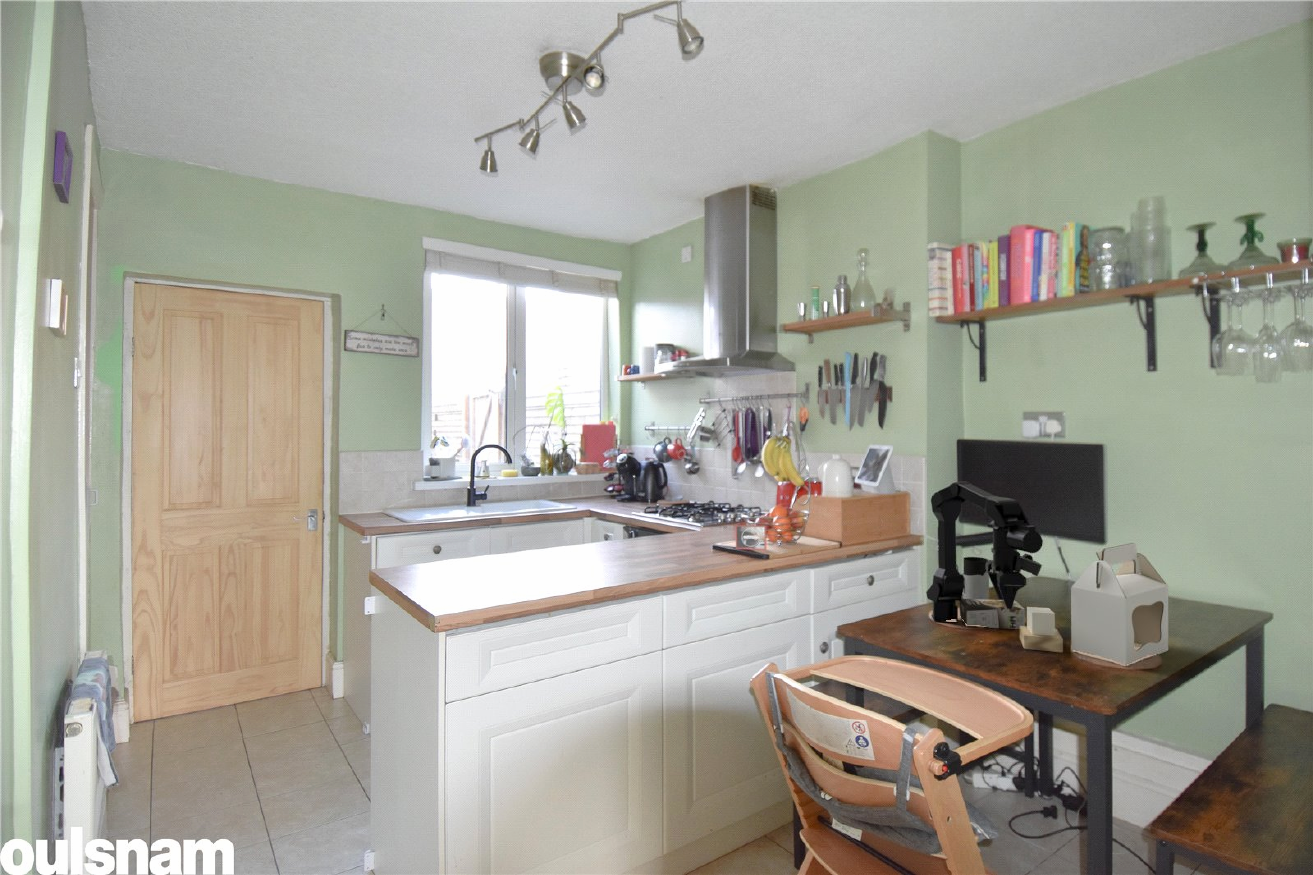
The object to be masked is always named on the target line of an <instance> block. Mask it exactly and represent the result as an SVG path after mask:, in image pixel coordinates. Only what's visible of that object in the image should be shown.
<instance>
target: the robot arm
mask: <svg viewBox="0 0 1313 875" xmlns="http://www.w3.org/2000/svg"><path fill="white" fill-rule="evenodd" d="M966 502H969V503H971V504H973V505H974V506H977V507H979V508H981V510H984V514H985V516H987V517H988V518H989V519H991V520H992V521H990V522H989V523H988V524H987V527H988V528H991V529H992V547H991V548H990V550H991V551H990V552H991V553H992V559H988V561H987V562H986V570H987V571H988V572H987V573H988V575H989V581H990V582H991V585H992V587H993V588H994V592H995V593H996V595H997V598H998V600H1004V602H1005V605H1006V607H1007V609H1012V606H1013V603H1014V601H1015V599H1016V596H1017V593H1018V591H1019V590H1021V589H1023V588H1025V586H1027V576H1025V575H1024V574H1023V573H1021V571H1024V572H1027V573H1030V574H1032V575H1033V576H1036V577H1038V576H1039V575H1040V571H1041V569H1042V567H1043V565H1042V564H1041V563H1040V562H1038V561H1036V560H1034V558H1033V555H1031V554H1035V553H1038V552H1039V551H1040V550H1041V548H1042V547H1043V544H1044V540H1043V538H1042V536H1041V533H1039V532H1038V531H1037V530H1036V529H1037V528H1036V526H1034V525H1031V524H1030V522H1029V519H1028V517H1027V516H1026V514H1025V512H1024V510H1023V508H1022V506H1021V505H1020V504H1021V503H1020V502H1019V501H1018V500H1017V499H1014V498H1010V497H1003V496H996V495H994V494H992V493H990V492H988V491H985V490H983V489H981V488H979V487H978V486H976V485H973V483H971V482H969V481H955V482H952V483H951V484H950V485H949V486H947V487H943V488H942V489H939V490H938V491H936V492H934V494H933V495H932V496H931V498H930V503H931V510H932V513H933V515H934V517H936V519H937V530H938V531H937V534H938V535H937V536H938V540H937V541H938V567H937V569H936V571H935V572H934V574H933V578H932V584H931V586H930V587H929V588H928V589H927V591H926V597H927V600H930V601H932V614H931V618H932V620H933V621H934V622H937V623H939V622H940V623H942V622H941V621H946V620H951V619H957V620H958V619H959V618H958V616H959V613H958V612H959V608H958V607H959V606H958V605H957V602H956V601H958V602H959V601H961V599H962V594H963V589H964V588H965V587H964V576H963V575H960V574H961V573H960V572H959V569H958V570H957V567H956V564H957V525H956V524H957V520H958V518H959V516H960V515H961V514H962V508H963V505H964V504H965V503H966ZM1019 551H1021V552H1025V553H1024V554H1023V555H1021V553H1020V552H1019Z"/></svg>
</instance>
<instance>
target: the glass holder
mask: <svg viewBox="0 0 1313 875" xmlns="http://www.w3.org/2000/svg"><path fill="white" fill-rule="evenodd" d="M988 560H989V559H988V558H984V557H981V556H980V557H979V556H967V557H966V556H965V557H963V561H962V562H963V573H960V575H963V576H964V587H965V588H964V589H963V593H962V597H961V599H982V600H990V578H989V575H988V573H987V572H988V571H987V570H986V562H987V561H988ZM956 567H957V570H958V571H959V566H958V564H957V563H956Z"/></svg>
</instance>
